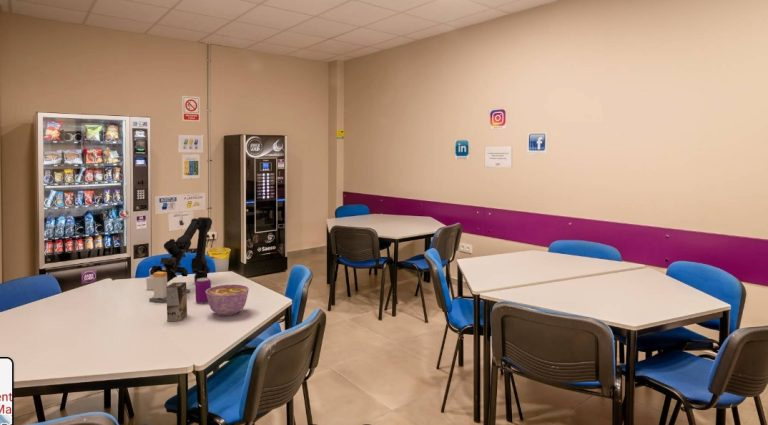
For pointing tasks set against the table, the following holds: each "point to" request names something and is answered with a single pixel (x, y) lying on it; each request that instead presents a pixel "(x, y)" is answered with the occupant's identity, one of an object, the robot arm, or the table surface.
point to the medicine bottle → (150, 281)
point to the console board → (162, 300)
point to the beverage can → (202, 289)
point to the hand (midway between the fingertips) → (163, 284)
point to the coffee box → (176, 301)
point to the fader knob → (160, 284)
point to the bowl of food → (227, 298)
